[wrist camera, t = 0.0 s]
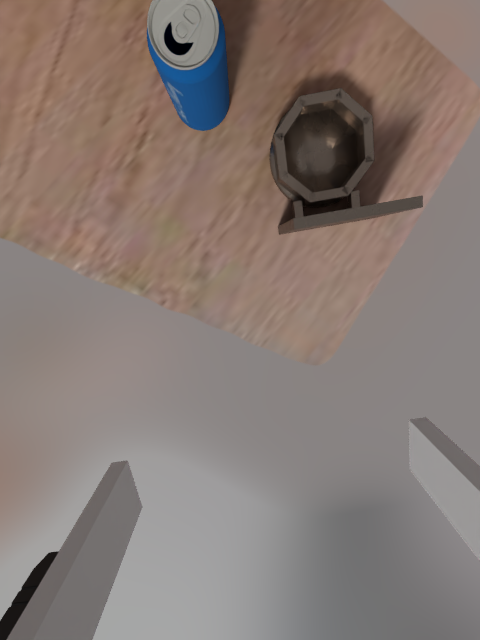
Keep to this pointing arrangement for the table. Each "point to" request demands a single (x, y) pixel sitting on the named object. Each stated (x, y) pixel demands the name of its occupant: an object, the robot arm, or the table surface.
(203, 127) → the beverage can
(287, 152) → the cup bracket
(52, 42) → the table surface
